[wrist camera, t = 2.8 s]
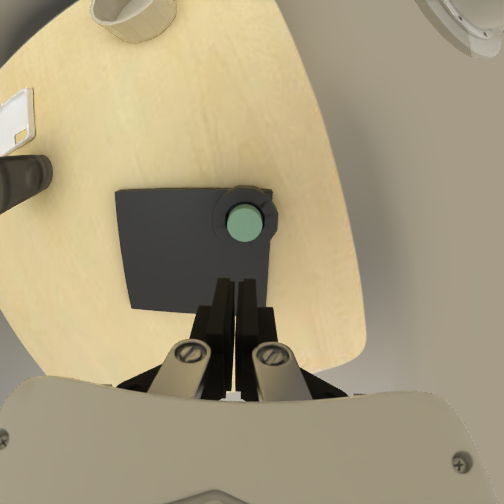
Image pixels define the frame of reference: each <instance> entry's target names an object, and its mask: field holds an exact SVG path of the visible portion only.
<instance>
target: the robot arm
mask: <svg viewBox="0 0 504 504" xmlns="http://www.w3.org/2000/svg"><path fill="white" fill-rule="evenodd" d="M439 1H440V3H441V4H442V6H443V7H444V9H445V10H446V11H447V13H448V14H449V15H450V16H451V17H452V19H453V20H454V21H455V22H456V23H457V24H458V25H459V26H460V27H461V28H463V29H464V30H465V31H466V32H467V33H469V34H470V35H472V36H473V37H475V38H477V39H481V40H486V39H490V38H491V37H492V36H493V34H494V30H495V29H498V30H499V31H503V32H504V0H439ZM234 337H235V387H236V391H241V399H243V400H245V401H246V402H241V401H239V402H238V401H219V400H220V399H222V398H226V391H231V388H232V370H233V353H234ZM0 504H499V503H498V500H497V497H496V494H495V491H494V487H493V484H492V482H491V479H490V477H489V474H488V472H487V469H486V467H485V465H484V462H483V460H482V458H481V456H480V453H479V451H478V449H477V447H476V445H475V443H474V441H473V439H472V437H471V435H470V433H469V432H468V430H467V428H466V426H465V425H464V423H463V421H462V420H461V418H460V417H459V415H458V414H457V412H456V411H455V410H454V408H453V407H452V406H451V405H450V404H449V403H448V402H447V401H446V400H445V399H444V398H442V397H440V396H438V395H435V394H432V393H428V392H420V391H391V392H382V393H376V394H354V395H353V396H348V395H347V394H346V393H345V392H343V391H342V390H340V389H338V388H336V387H334V386H332V385H330V384H329V383H327V382H325V381H323V380H321V379H320V378H318V377H316V376H314V375H312V374H311V373H309V372H307V371H305V370H304V369H302V368H300V367H299V365H298V363H297V361H296V358H295V356H294V354H293V352H292V350H291V349H290V348H289V347H288V346H286V345H284V344H282V343H278V339H277V332H276V325H275V317H274V310H273V307H257V294H256V279H248V278H244V280H243V282H241V281H239V283H238V298H237V314H236V331H235V281H230V278H218V279H217V283H216V288H215V293H214V297H213V302H212V306H208V305H199V306H198V309H197V313H196V316H195V320H194V324H193V327H192V331H191V335H190V338H189V339H186V340H182V341H179V342H178V343H176V344H175V345H174V346H173V347H172V348H171V350H170V352H169V353H168V355H167V357H166V359H165V361H164V362H163V364H161V365H159V366H157V367H155V368H153V369H150V370H148V371H146V372H144V373H142V374H140V375H138V376H135V377H133V378H131V379H129V380H127V381H124V382H122V383H121V384H119V385H118V386H117V387H113V386H112V385H111V384H96V383H92V382H87V381H82V380H78V379H73V378H67V377H59V376H39V377H34V378H29V379H27V380H25V381H23V382H22V383H20V384H19V385H18V386H17V387H16V388H15V389H14V390H13V391H12V393H11V394H10V395H9V397H8V398H7V399H6V401H5V402H4V403H3V405H2V407H1V408H0Z"/></svg>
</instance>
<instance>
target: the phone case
mask: <svg viewBox="0 0 504 504" xmlns="http://www.w3.org/2000/svg"><path fill="white" fill-rule="evenodd" d="M26 128H27V132H28V134H27V136H26V137H25V138H24V139H23V140H22V141H20V142H18V143H17V144H16V141H15V135H17V134H18V133H20V132H21V131H23V130H24V129H26ZM34 136H35V125H34V110H33V89H32V88H23V89H21V90H20V91H19V92H17V93H16V94H15V95H13V96H12V97H11V98H9V99H8V100H7V101H6V102H4V103H3V104H2V105H1V106H0V157H4V156H6V155H7V154H9V153H10V152H12V151H14V150H15V149H17V148H18V147H20V146H22V145H23V144H25V143H27V142H28V141H30V140H32V139H33V138H34Z"/></svg>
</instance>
